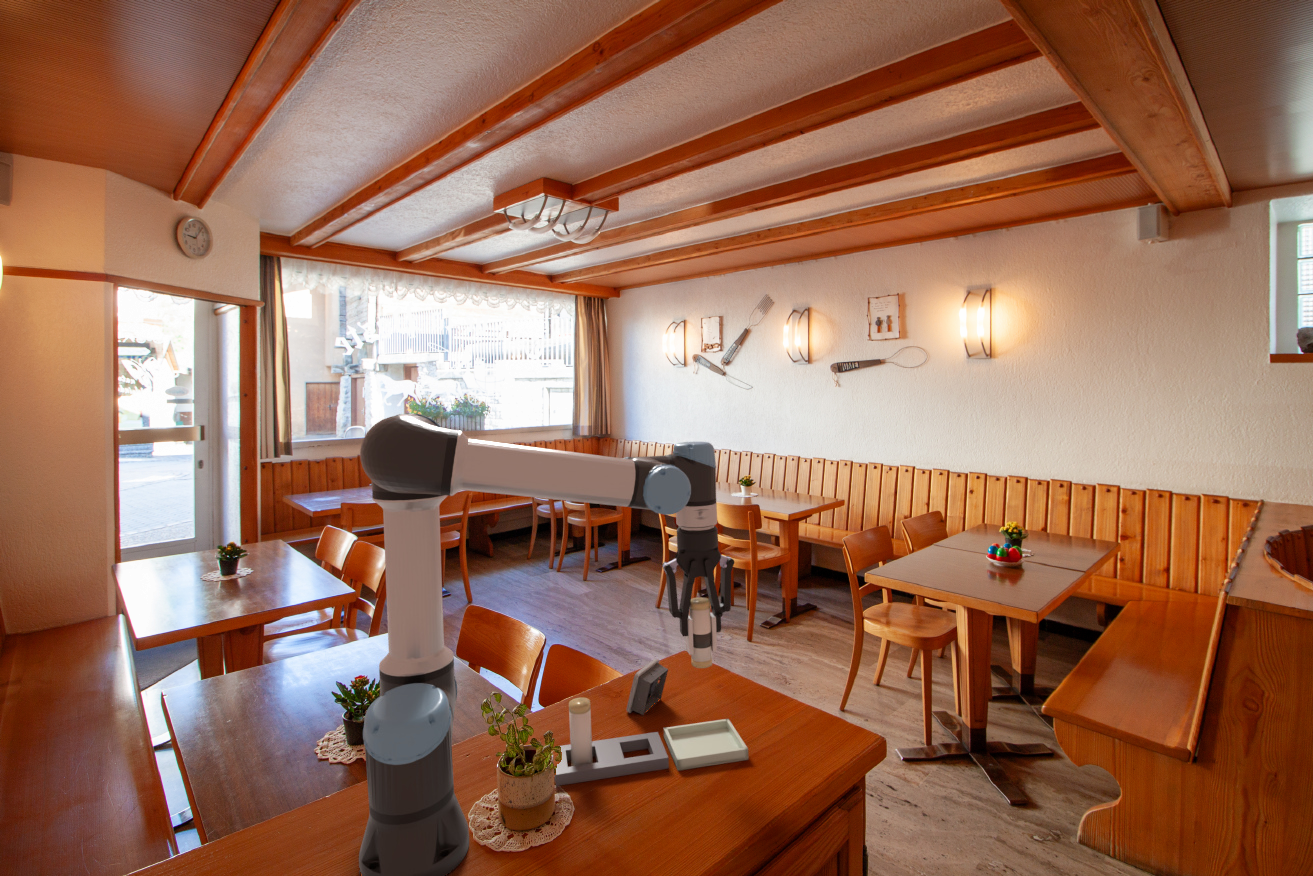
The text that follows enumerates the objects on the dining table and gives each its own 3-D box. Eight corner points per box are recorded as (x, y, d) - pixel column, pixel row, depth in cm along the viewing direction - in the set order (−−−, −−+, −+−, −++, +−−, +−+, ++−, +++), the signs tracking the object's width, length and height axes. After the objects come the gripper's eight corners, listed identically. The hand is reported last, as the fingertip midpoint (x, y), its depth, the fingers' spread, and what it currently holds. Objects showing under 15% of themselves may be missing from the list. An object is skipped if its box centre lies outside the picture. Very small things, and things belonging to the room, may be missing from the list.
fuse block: (555, 786, 110) (555, 775, 109) (552, 757, 118) (552, 747, 118) (668, 768, 114) (668, 757, 114) (658, 741, 123) (657, 731, 122)
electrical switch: (647, 694, 142) (649, 655, 141) (668, 701, 140) (670, 661, 138) (625, 713, 134) (627, 672, 133) (646, 721, 131) (648, 679, 130)
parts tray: (677, 770, 113) (677, 759, 113) (663, 737, 124) (663, 728, 124) (748, 759, 116) (748, 749, 116) (728, 728, 127) (728, 718, 126)
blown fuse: (689, 661, 120) (687, 598, 119) (708, 658, 121) (706, 596, 120) (694, 669, 116) (692, 605, 116) (714, 666, 117) (712, 602, 116)
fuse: (572, 774, 113) (569, 709, 112) (570, 762, 116) (568, 699, 116) (593, 771, 114) (591, 706, 113) (591, 759, 117) (589, 696, 116)
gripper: (656, 534, 111) (661, 664, 113) (747, 526, 115) (751, 652, 117) (647, 525, 119) (652, 648, 120) (733, 518, 122) (737, 637, 124)
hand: (701, 650), depth 118 cm, fingers closed on blown fuse, 4 cm apart
